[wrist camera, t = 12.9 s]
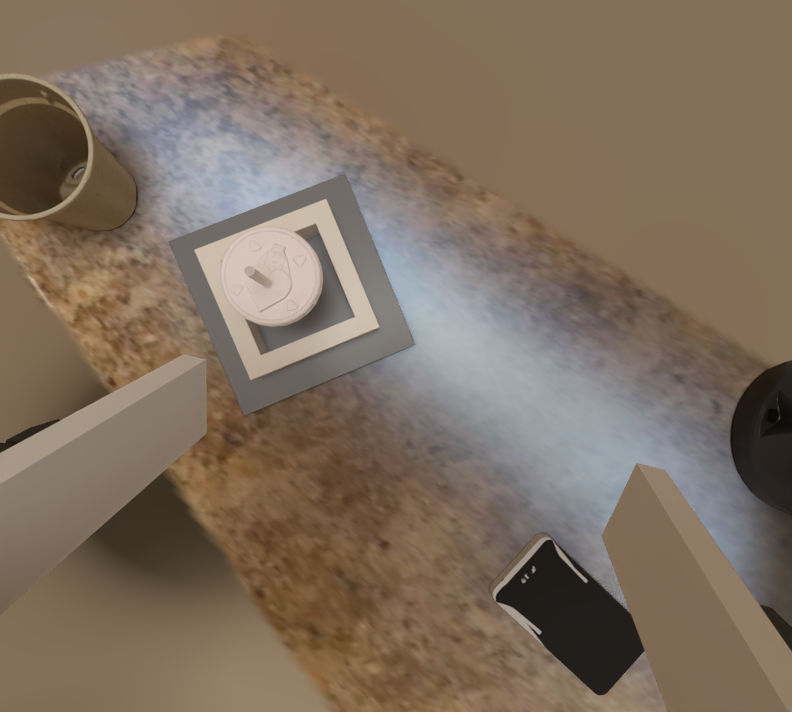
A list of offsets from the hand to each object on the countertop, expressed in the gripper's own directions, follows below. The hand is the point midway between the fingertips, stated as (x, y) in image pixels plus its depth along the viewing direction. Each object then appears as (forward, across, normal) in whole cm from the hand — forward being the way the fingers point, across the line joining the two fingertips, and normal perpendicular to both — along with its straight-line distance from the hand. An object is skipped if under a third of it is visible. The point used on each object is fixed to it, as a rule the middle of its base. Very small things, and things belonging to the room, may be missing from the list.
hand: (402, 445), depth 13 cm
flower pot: (+22, -31, +2) cm, 38 cm away
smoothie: (+23, -13, -3) cm, 26 cm away
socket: (+23, -13, -3) cm, 27 cm away
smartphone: (+20, +18, -27) cm, 38 cm away
